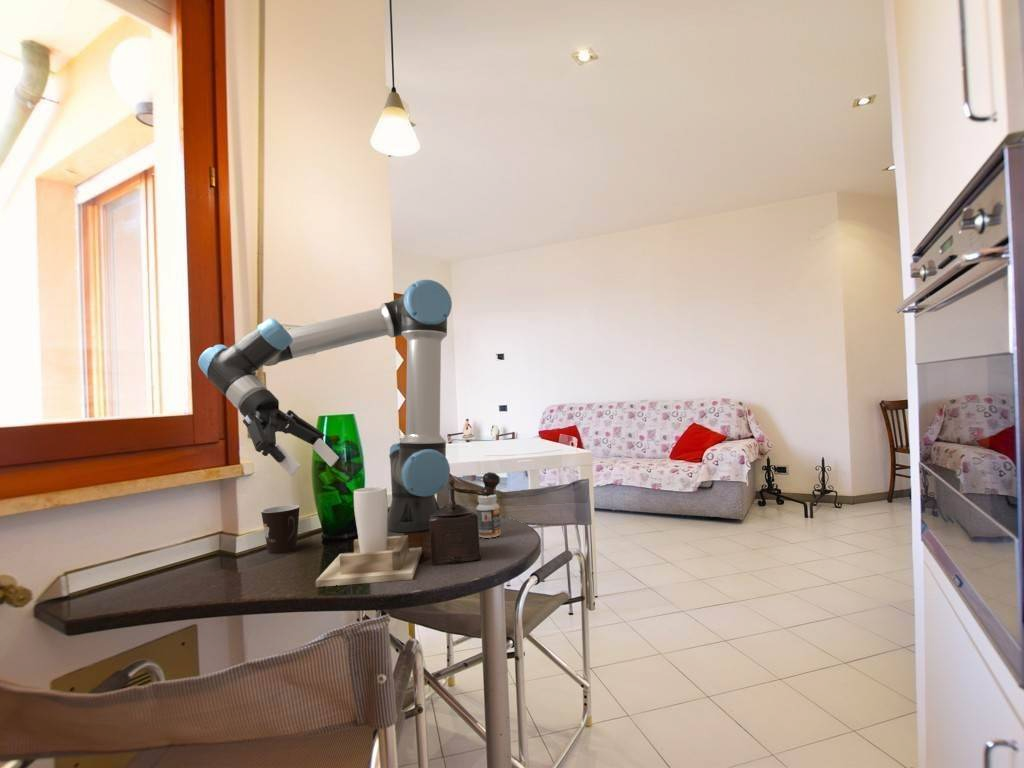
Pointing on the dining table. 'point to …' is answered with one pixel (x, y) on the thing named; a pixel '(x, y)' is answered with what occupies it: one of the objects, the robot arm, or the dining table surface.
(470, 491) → the manual coffee grinder
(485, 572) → the dining table surface
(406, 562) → the stand
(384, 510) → the drinking glass
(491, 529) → the pill bottle
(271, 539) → the coffee mug
